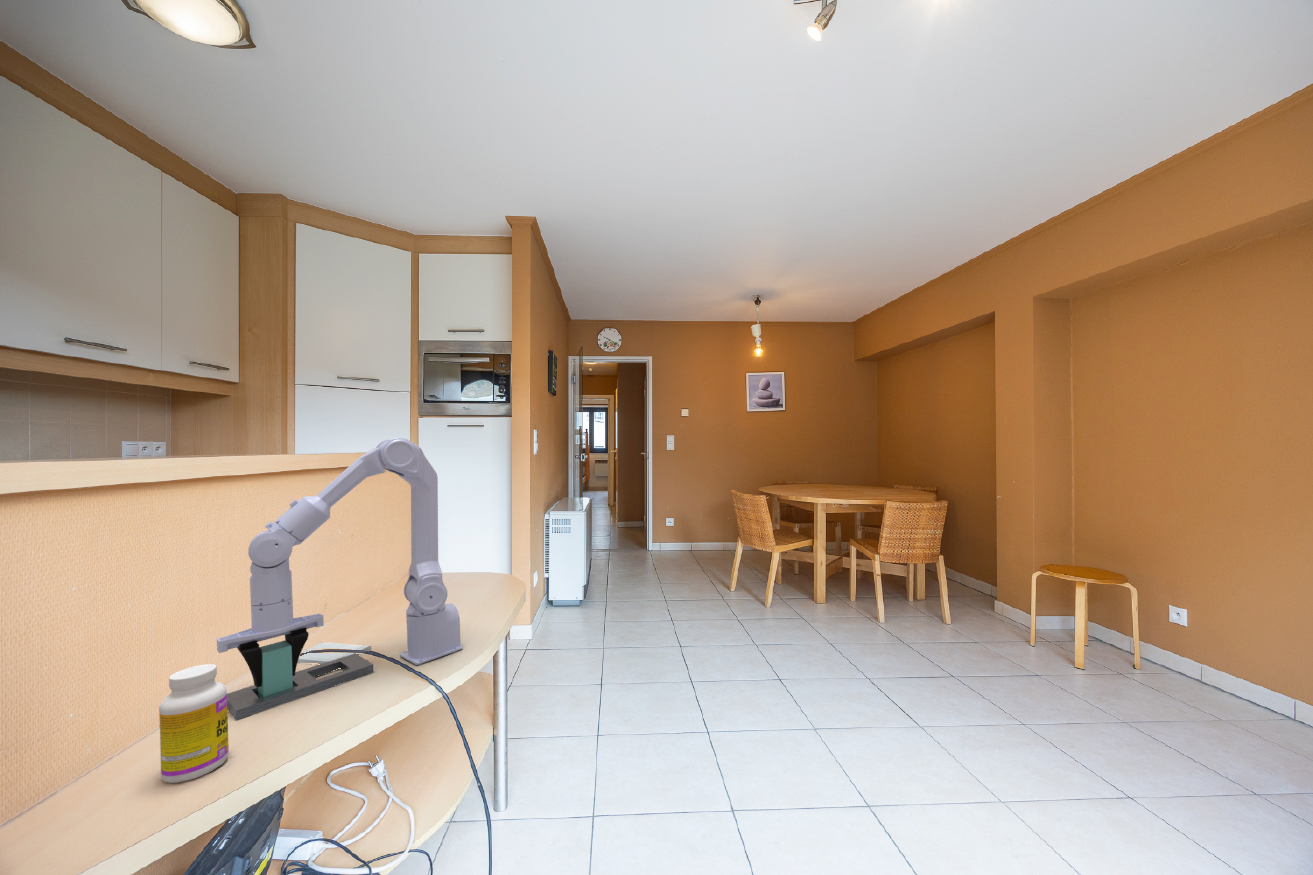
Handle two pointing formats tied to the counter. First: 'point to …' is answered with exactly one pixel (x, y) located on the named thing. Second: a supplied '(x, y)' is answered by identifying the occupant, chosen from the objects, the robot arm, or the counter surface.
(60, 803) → the counter surface
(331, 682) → the steel rail
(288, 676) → the teal peg
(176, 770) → the supplement bottle
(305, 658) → the hard drive
